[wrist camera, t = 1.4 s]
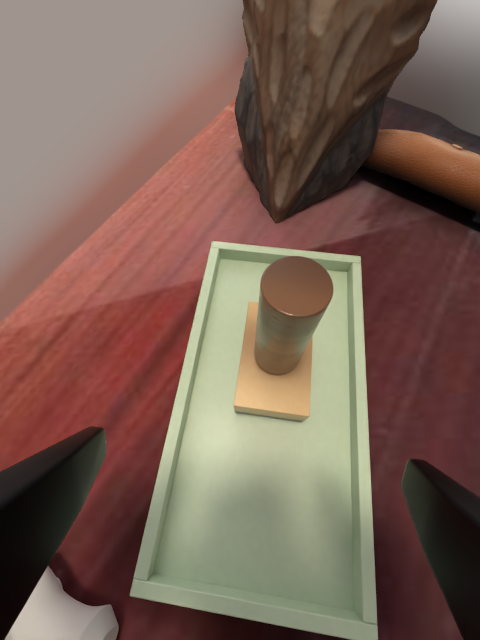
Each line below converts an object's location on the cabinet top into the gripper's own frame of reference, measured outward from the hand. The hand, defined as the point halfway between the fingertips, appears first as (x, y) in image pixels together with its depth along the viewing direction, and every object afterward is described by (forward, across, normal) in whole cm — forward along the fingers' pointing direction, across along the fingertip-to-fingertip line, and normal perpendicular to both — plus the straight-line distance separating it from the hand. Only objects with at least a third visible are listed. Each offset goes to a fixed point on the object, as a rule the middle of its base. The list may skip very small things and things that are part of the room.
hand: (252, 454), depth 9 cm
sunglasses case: (+30, -19, -13) cm, 38 cm away
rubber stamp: (+15, -2, +4) cm, 15 cm away
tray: (+14, -2, +6) cm, 15 cm away
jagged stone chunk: (+30, -3, -12) cm, 33 cm away
